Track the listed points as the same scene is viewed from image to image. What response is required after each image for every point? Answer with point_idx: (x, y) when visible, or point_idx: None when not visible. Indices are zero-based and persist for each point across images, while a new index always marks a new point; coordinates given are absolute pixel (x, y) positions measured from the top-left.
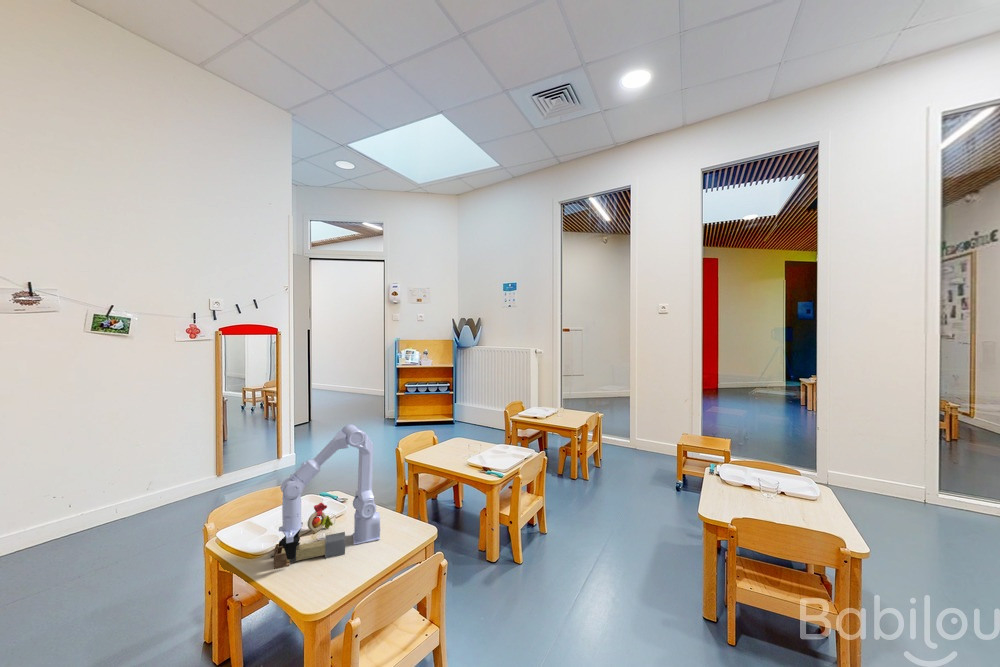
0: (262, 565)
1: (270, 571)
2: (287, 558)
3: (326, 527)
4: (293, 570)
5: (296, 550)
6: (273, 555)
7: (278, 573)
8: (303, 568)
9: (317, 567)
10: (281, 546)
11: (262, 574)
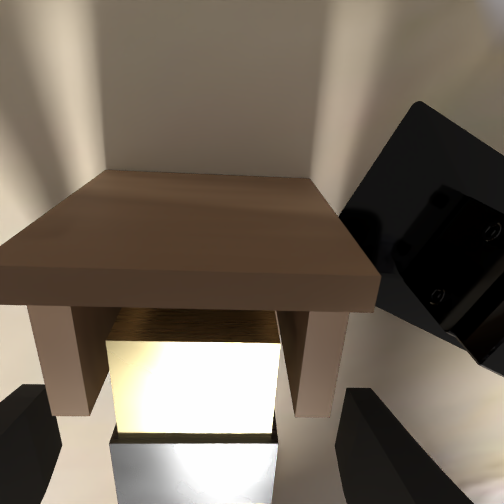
0: (257, 8)
1: (71, 137)
2: (7, 397)
3: None
4: (33, 355)
5: (127, 500)
6: (431, 138)
7: (7, 229)
8: None
9: None
10: (326, 336)
11: (23, 37)
